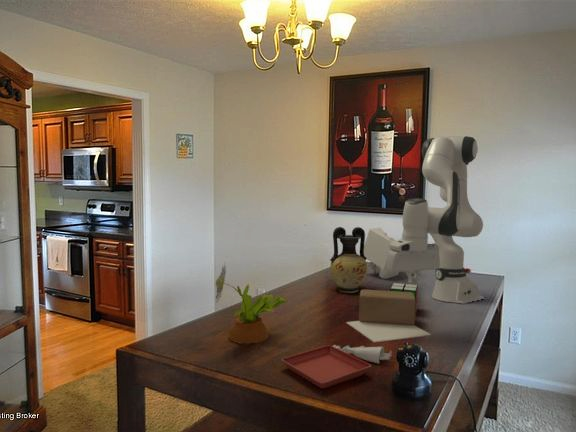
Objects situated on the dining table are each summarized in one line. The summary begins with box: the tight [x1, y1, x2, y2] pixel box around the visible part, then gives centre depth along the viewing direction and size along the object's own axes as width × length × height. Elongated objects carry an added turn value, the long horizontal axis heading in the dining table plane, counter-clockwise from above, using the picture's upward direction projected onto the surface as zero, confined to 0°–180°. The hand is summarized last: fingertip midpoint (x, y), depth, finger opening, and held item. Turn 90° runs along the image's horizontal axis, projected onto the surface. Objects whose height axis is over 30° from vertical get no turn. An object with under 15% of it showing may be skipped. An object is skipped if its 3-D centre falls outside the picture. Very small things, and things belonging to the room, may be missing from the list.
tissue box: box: [364, 227, 400, 280], centre depth 243 cm, size 20×16×25 cm
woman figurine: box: [332, 344, 392, 365], centre depth 135 cm, size 12×4×18 cm
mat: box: [346, 320, 432, 344], centre depth 160 cm, size 22×20×1 cm
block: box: [358, 289, 416, 325], centre depth 169 cm, size 10×10×20 cm
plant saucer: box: [281, 344, 372, 389], centre depth 125 cm, size 18×18×3 cm
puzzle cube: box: [389, 282, 419, 316], centre depth 182 cm, size 10×10×10 cm
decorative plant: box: [215, 262, 289, 344], centre depth 149 cm, size 27×24×25 cm
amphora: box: [329, 226, 368, 294], centre depth 211 cm, size 18×17×30 cm
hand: (413, 282), depth 162 cm, fingers closed
